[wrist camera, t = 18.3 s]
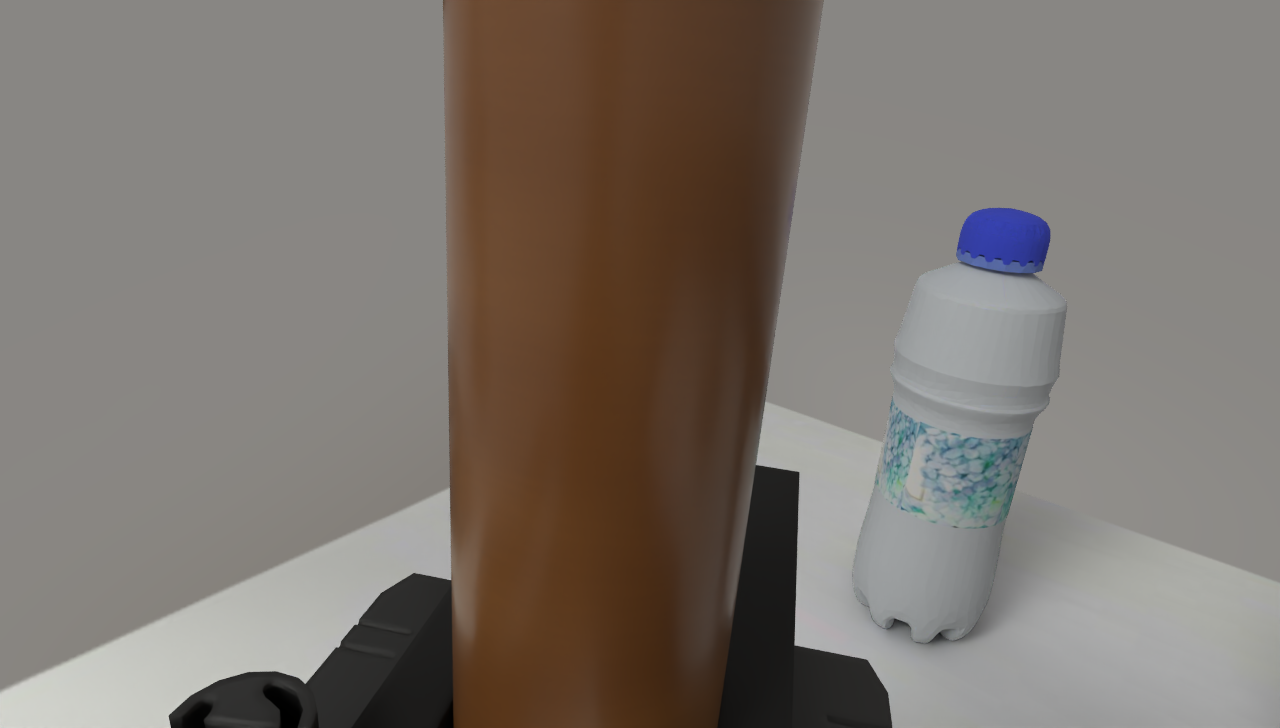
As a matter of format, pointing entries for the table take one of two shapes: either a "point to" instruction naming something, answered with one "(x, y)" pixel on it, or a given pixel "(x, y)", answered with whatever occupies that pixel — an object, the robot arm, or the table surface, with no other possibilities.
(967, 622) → the bottle
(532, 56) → the wooden handled pestle
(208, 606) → the table surface
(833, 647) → the table surface
